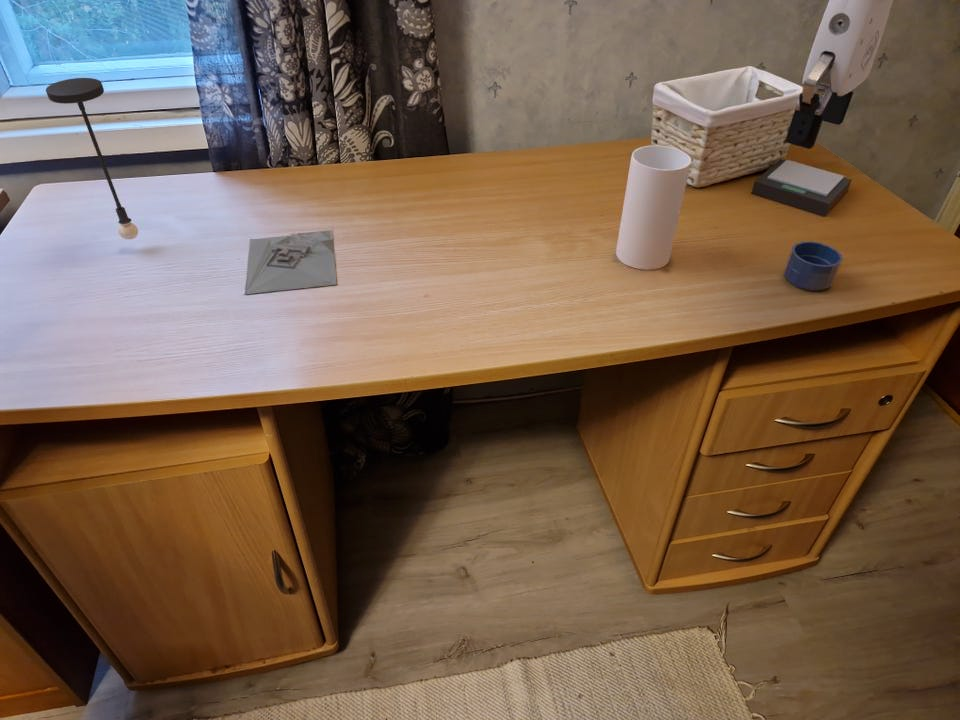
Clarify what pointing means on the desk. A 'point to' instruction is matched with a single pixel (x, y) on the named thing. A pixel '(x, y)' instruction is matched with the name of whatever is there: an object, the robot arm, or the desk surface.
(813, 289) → the bowl
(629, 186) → the cup
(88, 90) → the light fixture
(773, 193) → the scale
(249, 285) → the grey faceted rectangular plate
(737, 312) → the desk surface
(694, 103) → the basket
